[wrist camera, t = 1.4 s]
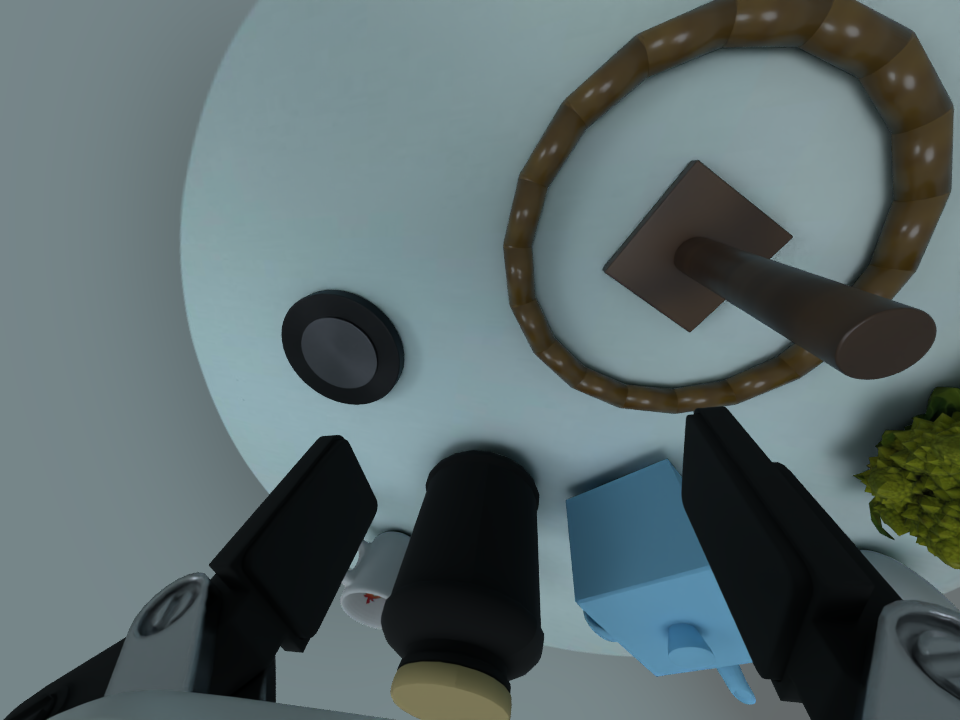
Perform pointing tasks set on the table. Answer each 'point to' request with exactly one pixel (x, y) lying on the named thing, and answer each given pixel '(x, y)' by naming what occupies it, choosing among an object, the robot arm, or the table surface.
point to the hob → (343, 347)
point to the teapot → (652, 578)
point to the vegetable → (921, 478)
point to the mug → (906, 580)
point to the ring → (731, 24)
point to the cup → (373, 577)
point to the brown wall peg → (759, 280)
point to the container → (467, 592)
